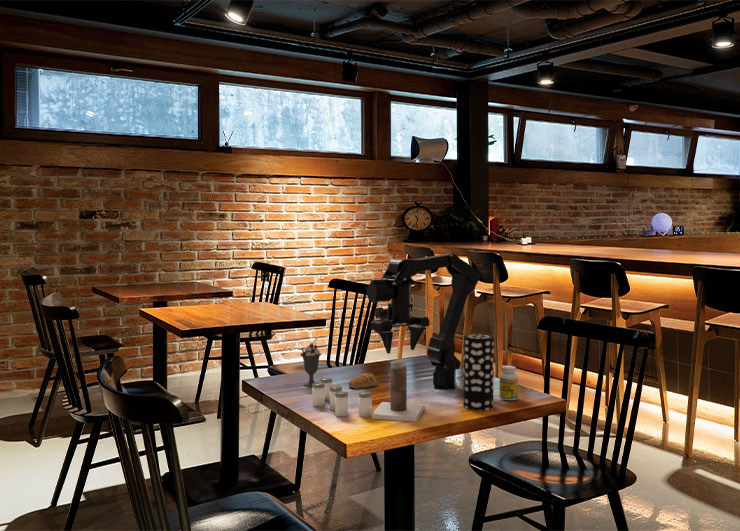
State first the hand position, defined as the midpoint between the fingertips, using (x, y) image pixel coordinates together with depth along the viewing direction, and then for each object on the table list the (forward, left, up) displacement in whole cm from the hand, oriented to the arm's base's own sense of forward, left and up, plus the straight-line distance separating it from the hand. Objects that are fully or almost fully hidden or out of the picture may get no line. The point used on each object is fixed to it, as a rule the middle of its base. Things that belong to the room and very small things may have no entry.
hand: (400, 351), depth 196 cm
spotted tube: (-24, +8, -13) cm, 29 cm away
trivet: (-4, +20, -13) cm, 24 cm away
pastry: (+14, -7, -14) cm, 21 cm away
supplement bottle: (-32, -2, -13) cm, 35 cm away
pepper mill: (-4, +20, -12) cm, 23 cm away
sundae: (+30, -4, -13) cm, 33 cm away
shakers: (+14, +19, -13) cm, 27 cm away
